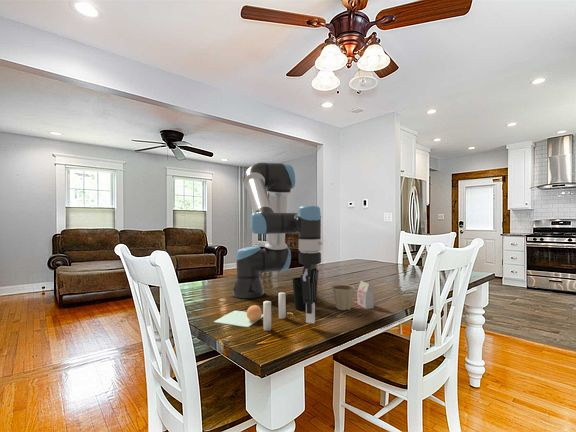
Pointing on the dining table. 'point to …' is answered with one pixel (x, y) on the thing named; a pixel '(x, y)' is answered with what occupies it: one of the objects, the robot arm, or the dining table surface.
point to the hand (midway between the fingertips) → (310, 322)
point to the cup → (298, 294)
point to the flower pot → (343, 296)
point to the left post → (267, 315)
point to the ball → (254, 313)
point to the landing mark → (236, 319)
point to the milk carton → (365, 296)
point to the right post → (282, 305)
